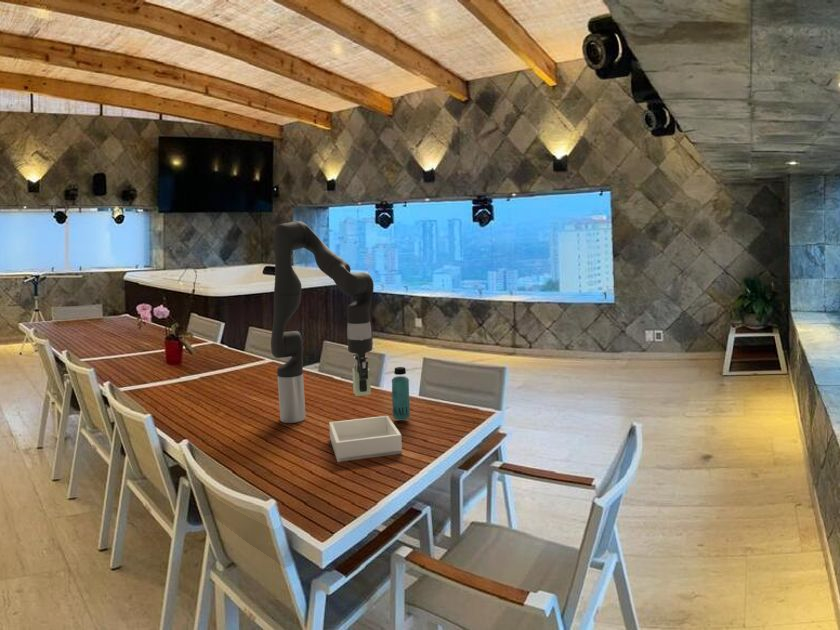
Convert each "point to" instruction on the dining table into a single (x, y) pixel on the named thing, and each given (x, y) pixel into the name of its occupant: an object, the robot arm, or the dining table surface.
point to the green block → (356, 383)
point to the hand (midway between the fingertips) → (361, 388)
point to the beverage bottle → (400, 395)
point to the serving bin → (364, 438)
